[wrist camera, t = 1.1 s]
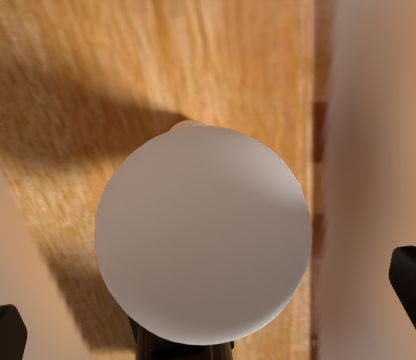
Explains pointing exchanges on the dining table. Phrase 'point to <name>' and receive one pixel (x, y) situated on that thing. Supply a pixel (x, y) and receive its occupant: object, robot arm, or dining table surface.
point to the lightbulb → (202, 234)
